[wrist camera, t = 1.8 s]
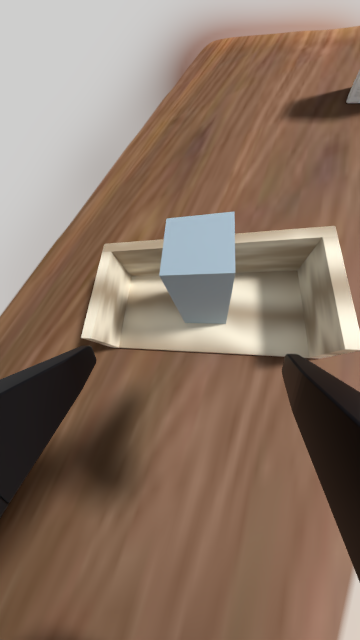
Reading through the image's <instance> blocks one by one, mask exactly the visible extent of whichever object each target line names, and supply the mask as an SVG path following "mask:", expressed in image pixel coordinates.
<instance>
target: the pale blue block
mask: <svg viewBox="0 0 360 640" xmlns="http://www.w3.org/2000/svg"><path fill="white" fill-rule="evenodd" d="M159 276H160V278H161V280H162V282H163V283H164V285H165V287H166V289H167V291H168V293H169V294H170V296H171V298H172V300H173V302H174V304H175V305H176V307H177V309H178V311H179V313H180V315H181V316H182V318H183V320H184V322H185V323H213V324H226V321H227V315H228V310H229V305H230V299H231V294H232V289H233V283H234V278H235V220H234V212H227V213H217V214H207V215H197V216H188V217H178V218H168V219H167V220H166V227H165V235H164V243H163V250H162V258H161V266H160V274H159Z"/></svg>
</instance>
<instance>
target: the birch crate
mask: <svg viewBox="0 0 360 640" xmlns="http://www.w3.org/2000/svg"><path fill="white" fill-rule="evenodd" d="M163 243H164V239H162V240H149V241H137V242H124V243H111V244H104V248H103V252H102V256H101V260H100V264H99V268H98V272H97V276H96V280H95V283H94V287H93V291H92V295H91V299H90V303H89V307H88V311H87V315H86V319H85V323H84V327H83V331H82V335H81V338H83V339H86V340H89V341H93V342H96V343H99V344H103V345H106V346H109V347H112V348H131V349H149V350H168V351H187V352H206V353H225V354H243V355H262V356H281V357H285V355H286V354H299V355H300V356H302V357H304V358H319V359H320V358H325V357H331V356H336V355H341V354H346V353H351V352H356V351H360V331H359V326H358V322H357V318H356V313H355V309H354V305H353V300H352V296H351V292H350V288H349V283H348V279H347V275H346V270H345V266H344V262H343V258H342V253H341V249H340V245H339V240H338V236H337V232H336V228H335V226H327V227H315V228H302V229H289V230H277V231H264V232H251V233H238V234H235V278H234V283H233V289H232V294H231V299H230V305H229V310H228V315H227V321H226V324H213V323H185V322H184V320H183V318H182V316H181V315H180V313H179V311H178V309H177V307H176V305H175V304H174V302H173V300H172V298H171V296H170V294H169V293H168V291H167V289H166V287H165V285H164V283H163V282H162V280H161V278H160V276H159V274H160V266H161V258H162V250H163Z"/></svg>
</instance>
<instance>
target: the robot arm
mask: <svg viewBox="0 0 360 640" xmlns="http://www.w3.org/2000/svg"><path fill="white" fill-rule="evenodd" d="M95 364H96V357H95V354H94V352H93V349H92V347H91V346H80V347H78V348H75V349H73V350H71V351H68V352H66V353H63V354H61V355H59V356H56V357H54V358H51V359H49V360H47V361H44V362H42V363H39V364H37V365H34V366H32V367H30V368H27V369H25V370H22V371H20V372H18V373H15V374H13V375H10V376H8V377H6V378H3V379H1V380H0V518H1V516H2V514H3V513H4V511H5V510H6V508H7V507H8V505H9V503H10V502H11V500H12V498H13V497H14V495H15V494H16V492H17V491H18V489H19V488H20V486H21V484H22V483H23V481H24V480H25V478H26V477H27V475H28V473H29V472H30V470H31V469H32V467H33V466H34V464H35V463H36V461H37V459H38V458H39V456H40V455H41V453H42V452H43V450H44V448H45V447H46V445H47V444H48V442H49V441H50V439H51V438H52V436H53V434H54V433H55V431H56V430H57V428H58V427H59V425H60V423H61V422H62V420H63V419H64V417H65V416H66V414H67V413H68V411H69V409H70V408H71V406H72V405H73V403H74V402H75V400H76V398H77V397H78V395H79V394H80V392H81V390H82V389H83V387H84V385H85V383H86V381H87V379H88V377H89V375H90V373H91V371H92V370H93V368H94V366H95ZM282 375H283V379H284V383H285V387H286V390H287V394H288V398H289V401H290V405H291V408H292V412H293V414H294V417H295V420H296V422H297V425H298V427H299V430H300V432H301V435H302V437H303V440H304V442H305V445H306V447H307V450H308V452H309V455H310V458H311V460H312V463H313V465H314V468H315V470H316V473H317V475H318V478H319V480H320V483H321V485H322V488H323V490H324V493H325V495H326V498H327V501H328V503H329V506H330V508H331V511H332V513H333V516H334V518H335V521H336V523H337V526H338V528H339V531H340V533H341V536H342V538H343V541H344V544H345V546H346V549H347V551H348V554H349V556H350V559H351V561H352V564H353V566H354V569H355V571H356V574H357V576H358V579H359V581H360V392H359V391H357V390H355V389H354V388H352V387H351V386H349V385H347V384H346V383H344V382H342V381H341V380H339V379H338V378H336V377H334V376H333V375H331V374H329V373H328V372H326V371H325V370H323V369H321V368H320V367H318V366H316V365H315V364H313V363H312V362H310V361H308V360H307V359H305V358H304V357H302V356H300V355H299V354H286V355H285V358H284V363H283V367H282Z"/></svg>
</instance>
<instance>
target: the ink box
mask: <svg viewBox="0 0 360 640" xmlns="http://www.w3.org/2000/svg"><path fill="white" fill-rule="evenodd" d="M346 103H360V70H359V72H358V75H357V77H356V79H355V81H354V83H353V86H352V88H351V90H350V93H349V95H348V98H347V101H346Z"/></svg>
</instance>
